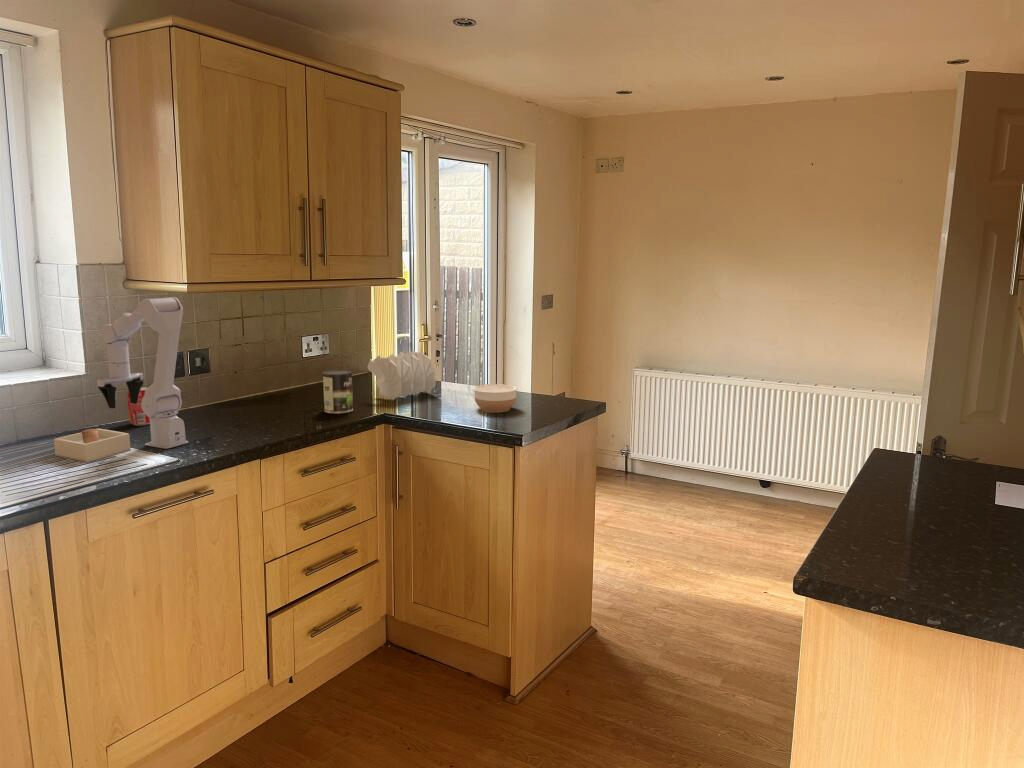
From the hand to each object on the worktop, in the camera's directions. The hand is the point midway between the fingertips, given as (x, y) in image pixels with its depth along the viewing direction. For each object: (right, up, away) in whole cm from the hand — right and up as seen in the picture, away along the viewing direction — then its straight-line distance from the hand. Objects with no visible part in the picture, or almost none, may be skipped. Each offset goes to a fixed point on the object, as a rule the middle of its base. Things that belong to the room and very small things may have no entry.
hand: (123, 405), depth 236 cm
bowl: (+115, -3, +40) cm, 122 cm away
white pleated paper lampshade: (+79, +2, +62) cm, 101 cm away
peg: (+1, -13, -19) cm, 22 cm away
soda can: (-2, -7, +16) cm, 17 cm away
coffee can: (+59, -3, +37) cm, 69 cm away
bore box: (+1, -13, -18) cm, 23 cm away
